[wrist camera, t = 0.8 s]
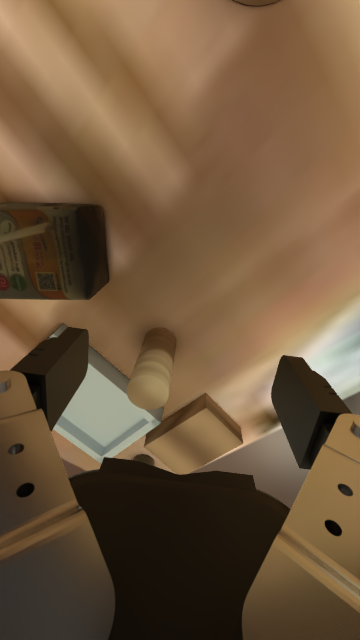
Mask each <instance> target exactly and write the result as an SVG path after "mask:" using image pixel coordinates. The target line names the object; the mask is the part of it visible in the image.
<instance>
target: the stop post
mask: <svg viewBox="0 0 360 640" xmlns="http://www.w3.org/2000/svg"><path fill="white" fill-rule="evenodd" d="M133 461H141V462H144V463H146V464H149V465H152V466H154V460H153V459H152V458H151V457H150V456H148V455H137V456H136V457H135V458H134V459H133Z"/></svg>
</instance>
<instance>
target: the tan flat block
mask: <svg viewBox="0 0 360 640" xmlns="http://www.w3.org/2000/svg"><path fill="white" fill-rule="evenodd" d="M241 444H243V440H242V434H241V428H240V426H238V425H237V424H236V423H235V422H234V421H233V420H232V419H231V418H230V417H229V416H228V415H227V414H226V413H225V412H224V411H223V410H222V409H221V408H220V407H219V406H218V405H217V404H216V403H215V402H214V401H213V400H212V399H211V398H210V397H209V396H208V395H207V394H206V393H205V394H204V395H202V396H200V397H199V398H197V399H196V400H194V401H193V402H191V403H190V404H188V405H187V406H185V407H183V408H182V409H180V410H179V411H177V412H176V413H174V414H173V415H171V416H169V417H168V418H166V419H165V420H163V421H162V422H161V423H160V424H159V425H158V426H156V427H155V428H153V429H152V430H151V431H149V432H148V433H147V435H146V439H145V444H144V447H145V448H146V449H147V450H148V451H150V452H151V453H152V454H153V455H154V456H156V457H157V458H158V459H159V460H160V461H162V462H163V463H164V464H165V465H166V466H168V467H169V468H170V469H171V470H172V471H173V472H175V473H176V474H179V475H182V474H188V473H190V472H192V471H194V470H196V469H198V468H199V467H201V466H203V465H205V464H207V463H209V462H210V461H212V460H214V459H216V458H218V457H219V456H221V455H223V454H225V453H227V452H229V451H230V450H232V449H234V448H236V447H238V446H239V445H241Z"/></svg>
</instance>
